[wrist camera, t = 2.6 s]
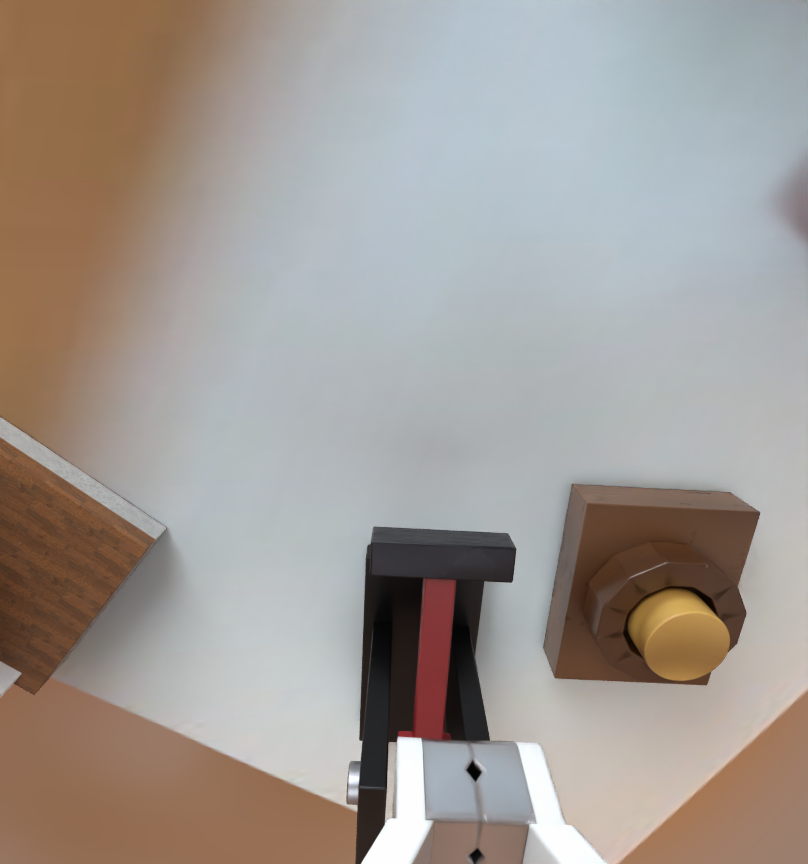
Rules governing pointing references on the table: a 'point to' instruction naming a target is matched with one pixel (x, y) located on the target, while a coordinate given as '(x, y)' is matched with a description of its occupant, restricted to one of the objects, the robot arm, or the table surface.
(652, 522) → the block
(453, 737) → the black lever base
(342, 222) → the table surface
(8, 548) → the display case
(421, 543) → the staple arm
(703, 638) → the bell button
